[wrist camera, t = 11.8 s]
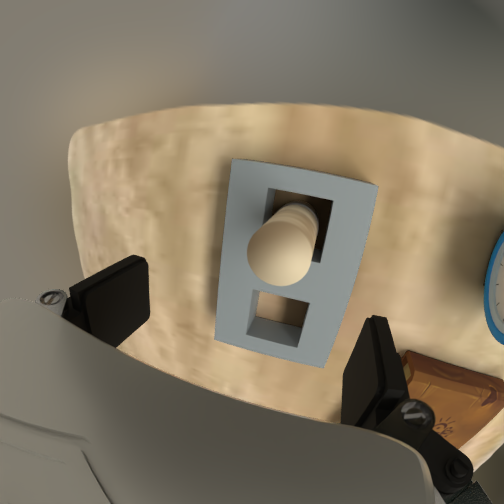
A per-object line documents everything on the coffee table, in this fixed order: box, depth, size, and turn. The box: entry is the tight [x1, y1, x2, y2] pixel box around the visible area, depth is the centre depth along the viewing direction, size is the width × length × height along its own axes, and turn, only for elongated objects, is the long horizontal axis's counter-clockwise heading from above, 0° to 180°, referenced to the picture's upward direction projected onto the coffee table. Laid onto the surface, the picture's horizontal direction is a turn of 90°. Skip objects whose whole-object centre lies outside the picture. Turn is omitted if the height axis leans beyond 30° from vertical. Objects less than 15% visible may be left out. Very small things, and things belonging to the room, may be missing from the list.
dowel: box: [247, 200, 319, 286], centre depth 22 cm, size 4×4×12 cm
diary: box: [401, 351, 504, 449], centre depth 28 cm, size 23×19×6 cm
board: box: [214, 159, 379, 368], centre depth 27 cm, size 20×13×4 cm, turn 172°
